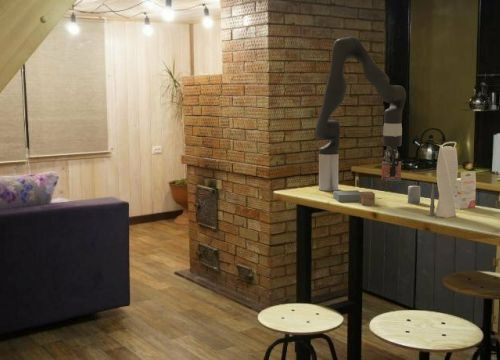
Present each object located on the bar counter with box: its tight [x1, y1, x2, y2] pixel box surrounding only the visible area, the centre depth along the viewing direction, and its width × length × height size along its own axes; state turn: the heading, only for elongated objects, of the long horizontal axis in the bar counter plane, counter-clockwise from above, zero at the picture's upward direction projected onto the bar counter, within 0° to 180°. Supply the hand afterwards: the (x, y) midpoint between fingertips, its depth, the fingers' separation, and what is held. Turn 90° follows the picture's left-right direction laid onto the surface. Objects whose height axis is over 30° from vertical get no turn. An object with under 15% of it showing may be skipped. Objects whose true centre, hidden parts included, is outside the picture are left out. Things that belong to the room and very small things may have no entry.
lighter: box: [380, 155, 402, 181], centre depth 254 cm, size 8×3×10 cm, turn 85°
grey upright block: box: [407, 185, 421, 205], centre depth 257 cm, size 5×5×7 cm
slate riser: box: [332, 189, 361, 203], centre depth 267 cm, size 11×11×3 cm
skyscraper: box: [428, 141, 459, 219], centre depth 228 cm, size 8×8×28 cm
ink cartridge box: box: [453, 170, 477, 210], centre depth 245 cm, size 9×5×15 cm, turn 117°
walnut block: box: [359, 190, 376, 206], centre depth 255 cm, size 5×5×5 cm
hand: (391, 175), depth 255 cm, fingers closed on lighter, 3 cm apart
